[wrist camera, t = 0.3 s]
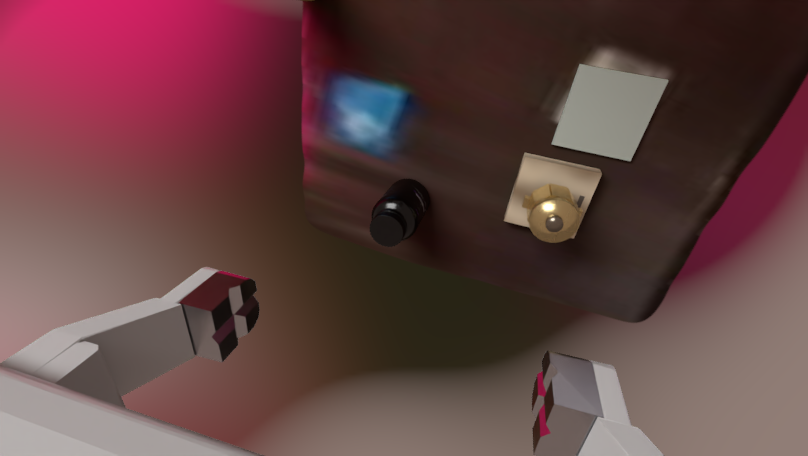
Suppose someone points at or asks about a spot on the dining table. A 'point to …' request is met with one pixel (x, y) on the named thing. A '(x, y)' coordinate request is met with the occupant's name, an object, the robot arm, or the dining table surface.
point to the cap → (552, 213)
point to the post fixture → (552, 171)
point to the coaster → (608, 111)
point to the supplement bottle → (399, 212)
